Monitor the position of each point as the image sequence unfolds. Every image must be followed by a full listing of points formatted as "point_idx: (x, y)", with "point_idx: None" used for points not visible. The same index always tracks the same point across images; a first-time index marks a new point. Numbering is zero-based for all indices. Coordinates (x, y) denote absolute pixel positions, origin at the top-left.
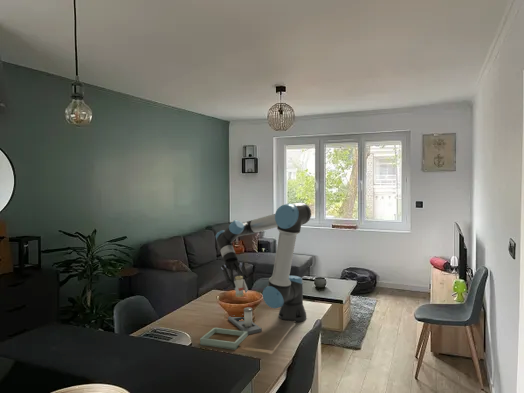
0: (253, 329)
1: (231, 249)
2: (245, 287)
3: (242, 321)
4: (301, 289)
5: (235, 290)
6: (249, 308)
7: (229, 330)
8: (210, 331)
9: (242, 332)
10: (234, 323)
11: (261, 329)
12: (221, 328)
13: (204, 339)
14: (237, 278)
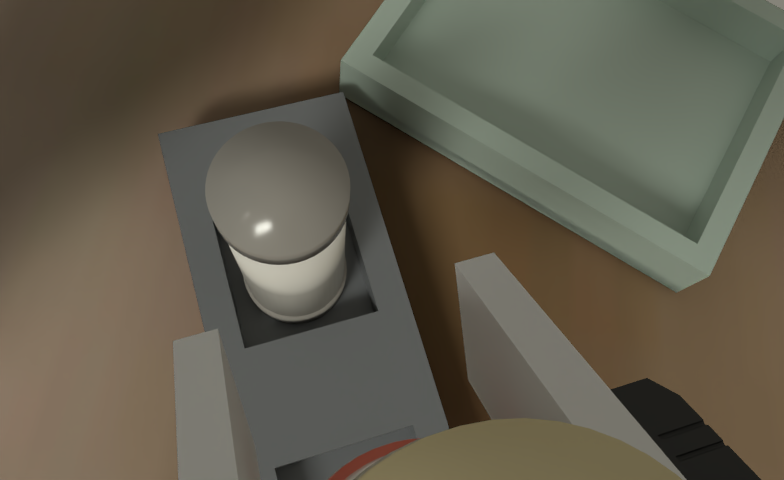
0: None
1: None
2: (232, 413)
3: (345, 424)
4: None
5: None
6: (253, 191)
7: (533, 149)
8: (741, 171)
9: (395, 73)
10: None
11: (163, 137)
12: (624, 224)
13: (777, 9)
14: (618, 446)
